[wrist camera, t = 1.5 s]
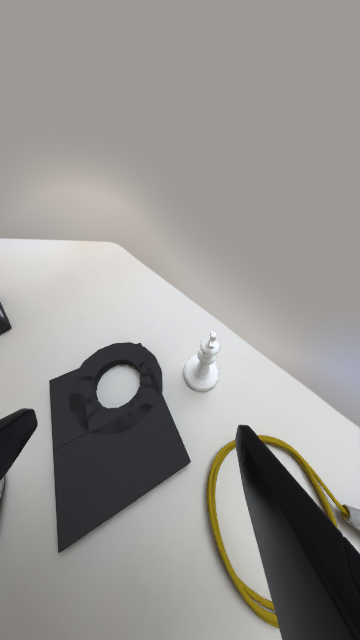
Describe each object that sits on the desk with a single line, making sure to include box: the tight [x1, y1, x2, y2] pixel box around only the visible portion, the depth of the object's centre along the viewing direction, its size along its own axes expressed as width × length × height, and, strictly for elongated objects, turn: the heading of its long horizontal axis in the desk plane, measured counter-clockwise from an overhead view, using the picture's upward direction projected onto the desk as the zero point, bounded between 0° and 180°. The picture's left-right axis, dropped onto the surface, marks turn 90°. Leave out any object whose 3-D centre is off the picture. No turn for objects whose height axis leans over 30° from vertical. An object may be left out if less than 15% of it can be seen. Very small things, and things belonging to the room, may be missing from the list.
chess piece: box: [184, 331, 220, 391], centre depth 19 cm, size 5×5×10 cm
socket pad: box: [49, 342, 191, 553], centre depth 20 cm, size 17×13×2 cm
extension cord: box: [207, 435, 360, 628], centre depth 14 cm, size 12×16×2 cm
